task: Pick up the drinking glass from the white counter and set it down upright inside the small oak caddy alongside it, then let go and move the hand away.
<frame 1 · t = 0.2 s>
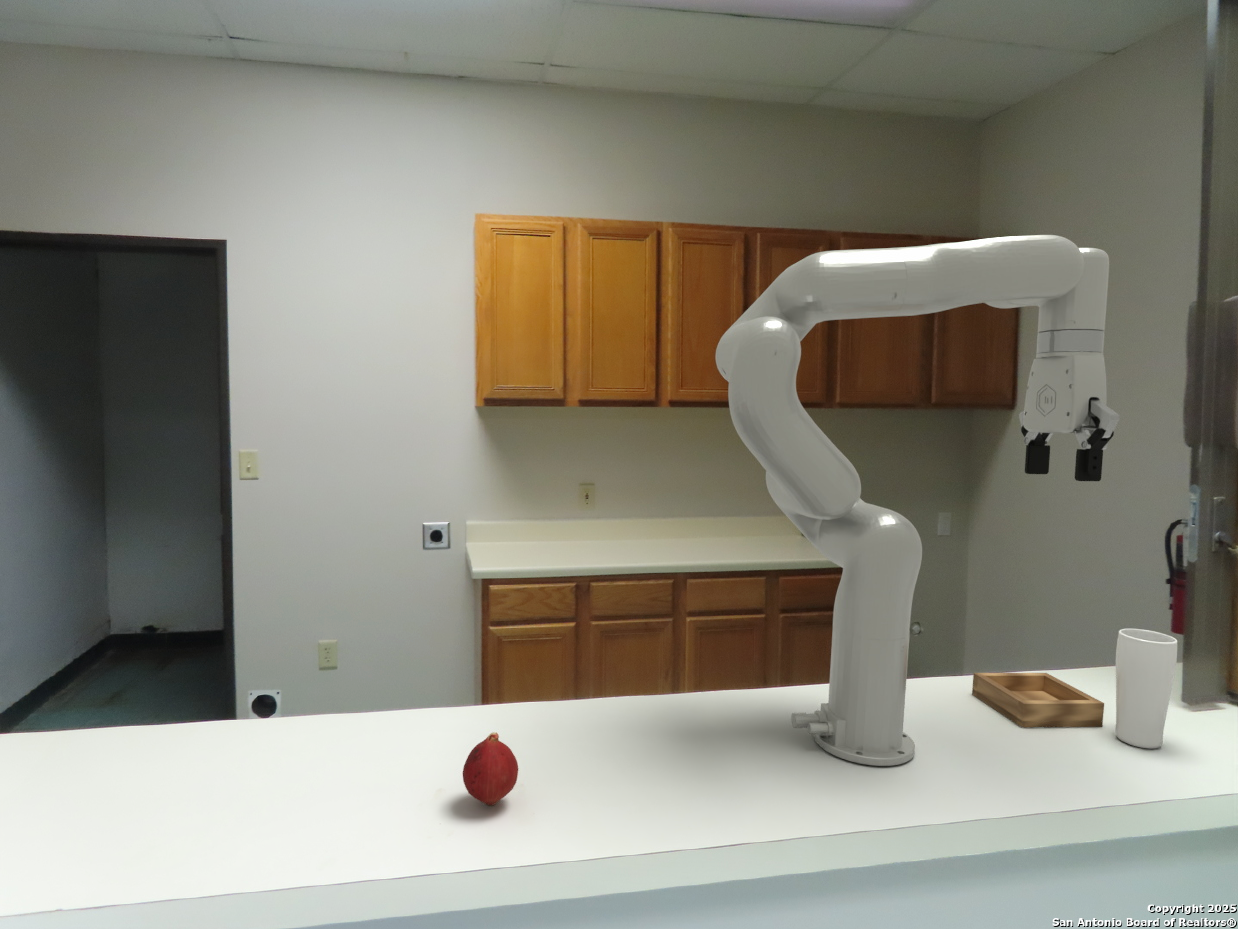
hand: (1060, 477, 99), 36 cm above the counter, tool pointing down, fingers open, 9 cm apart
onion: (489, 806, 81), on the counter
oak caddy: (1034, 710, 114), on the counter
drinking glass: (1137, 743, 103), on the counter
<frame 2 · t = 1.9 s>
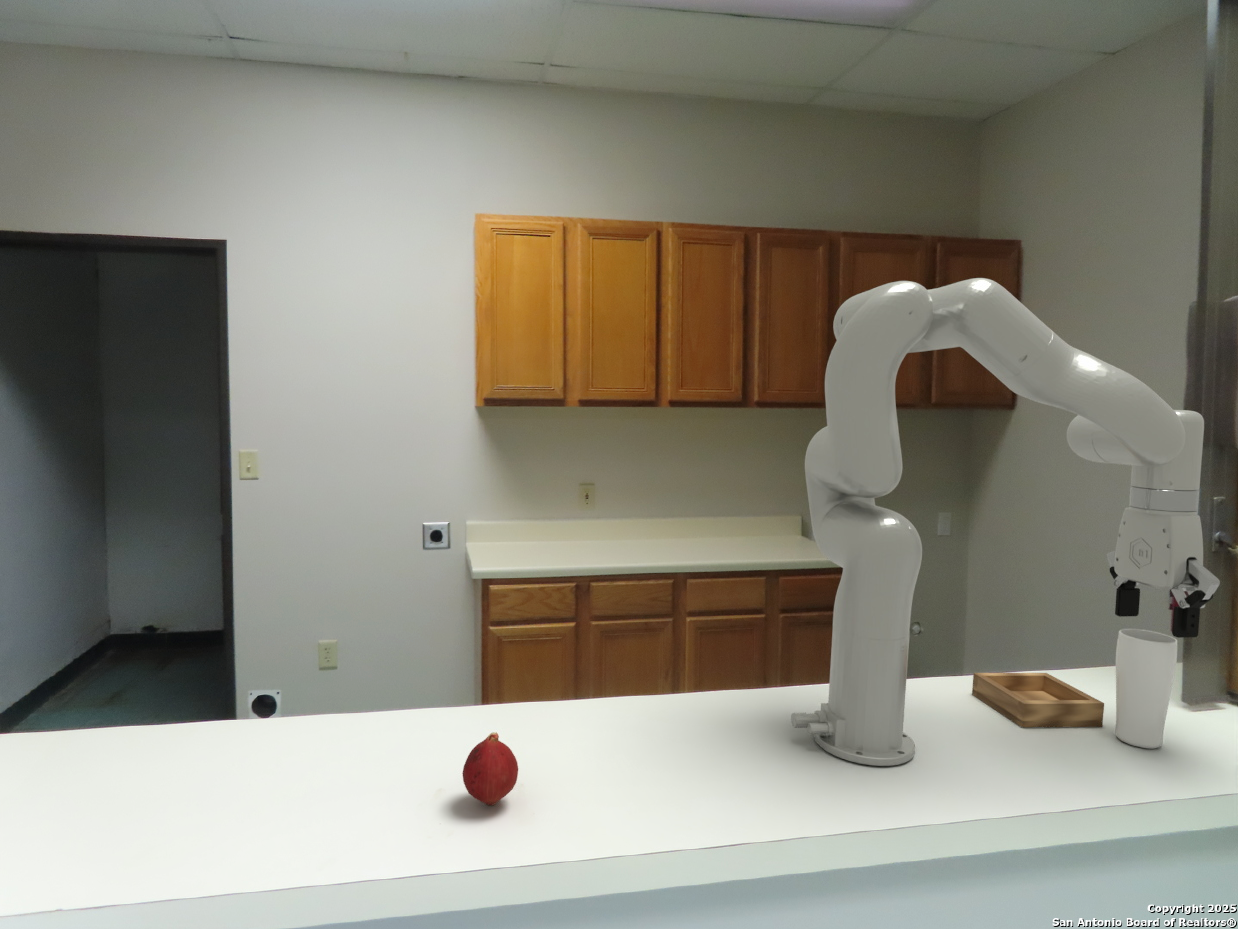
hand: (1154, 625, 102), 16 cm above the counter, tool pointing down, fingers open, 9 cm apart
nothing on the counter moved.
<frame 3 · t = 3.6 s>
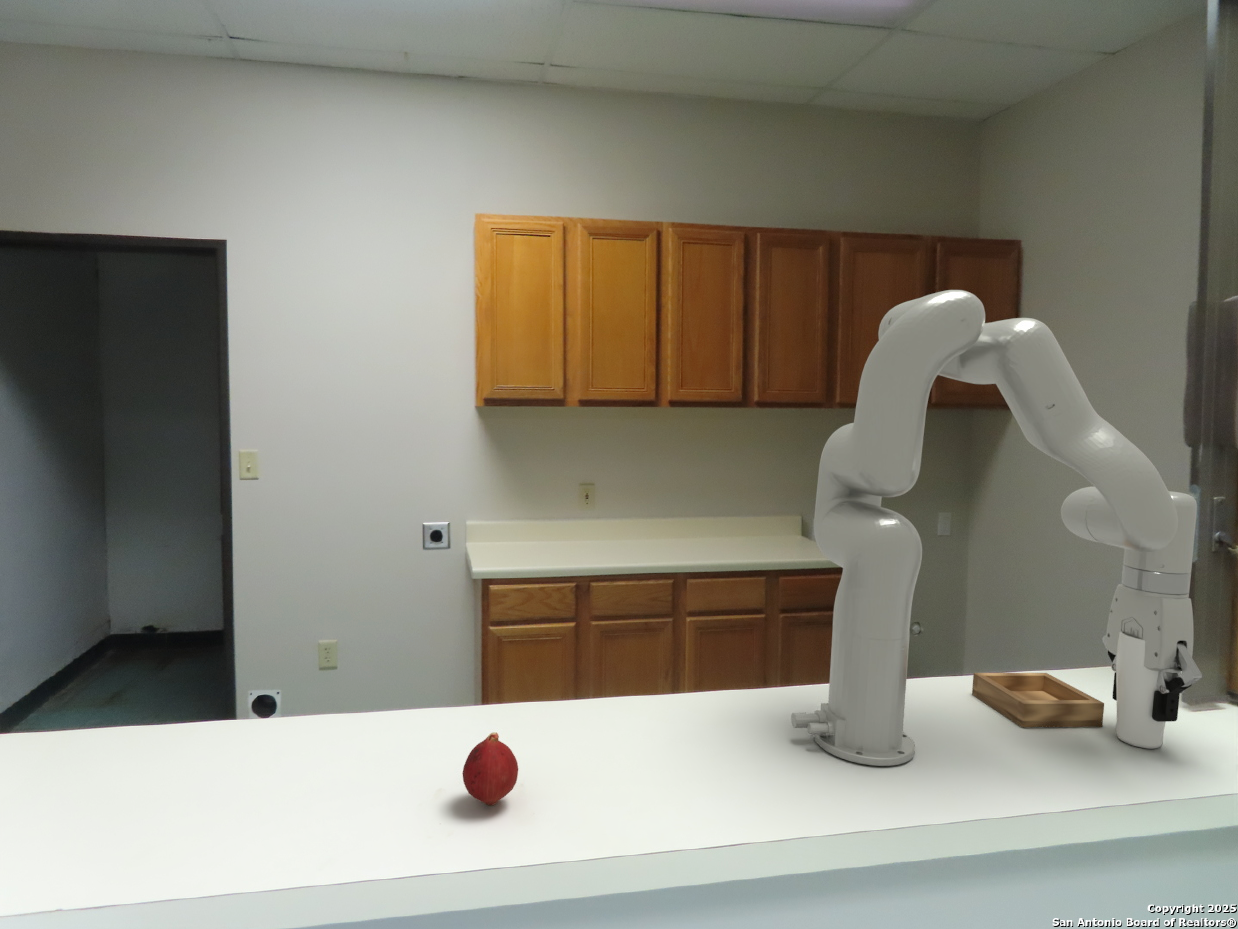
hand: (1143, 709, 103), 5 cm above the counter, tool pointing down, fingers closed on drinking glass, 6 cm apart
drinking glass: (1138, 743, 103), on the counter, touching gripper
everything else where it was.
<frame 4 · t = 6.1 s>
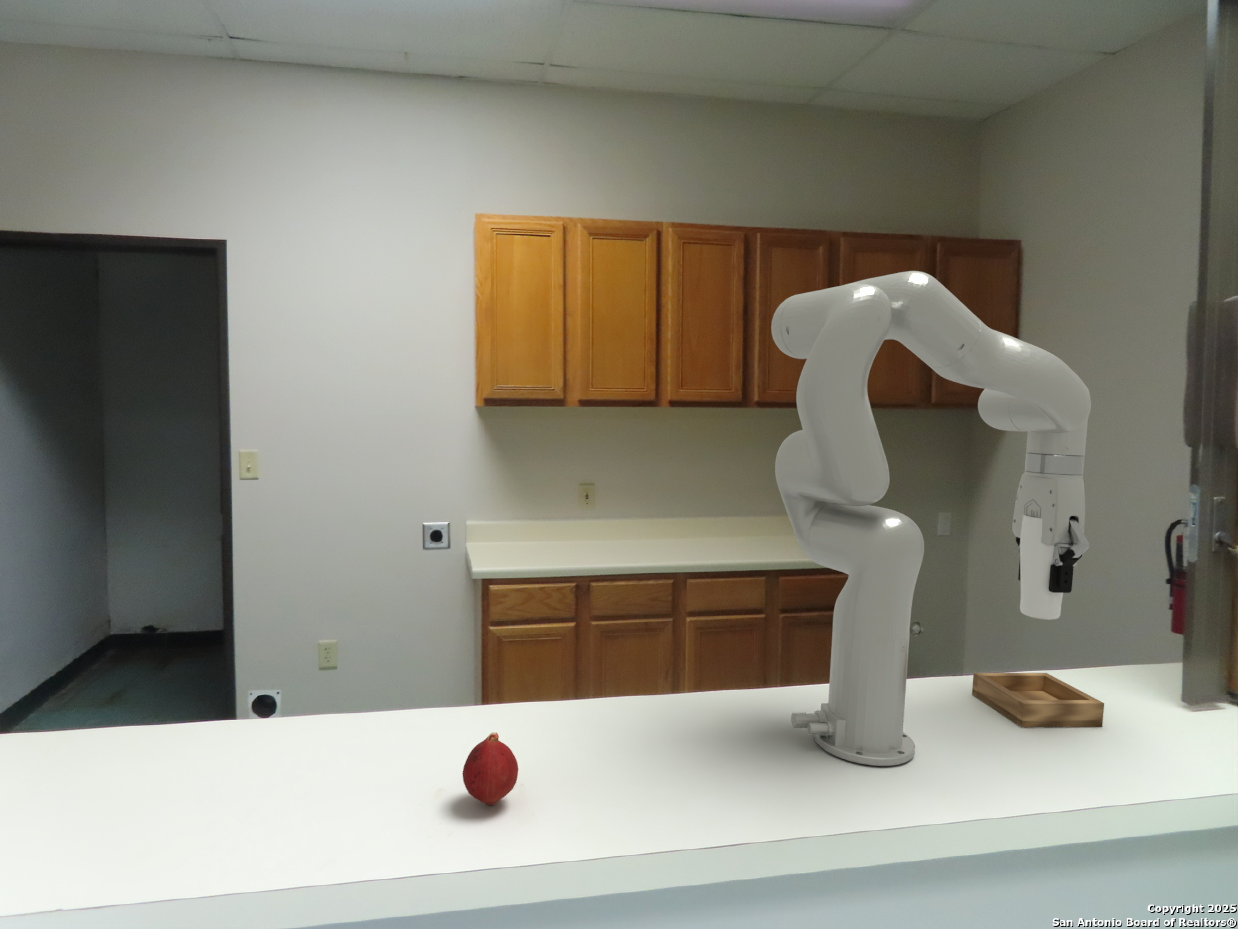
hand: (1043, 585, 112), 19 cm above the counter, tool pointing down, fingers closed on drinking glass, 6 cm apart
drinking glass: (1039, 617, 112), point 14 cm above the counter, touching gripper
everything else where it was.
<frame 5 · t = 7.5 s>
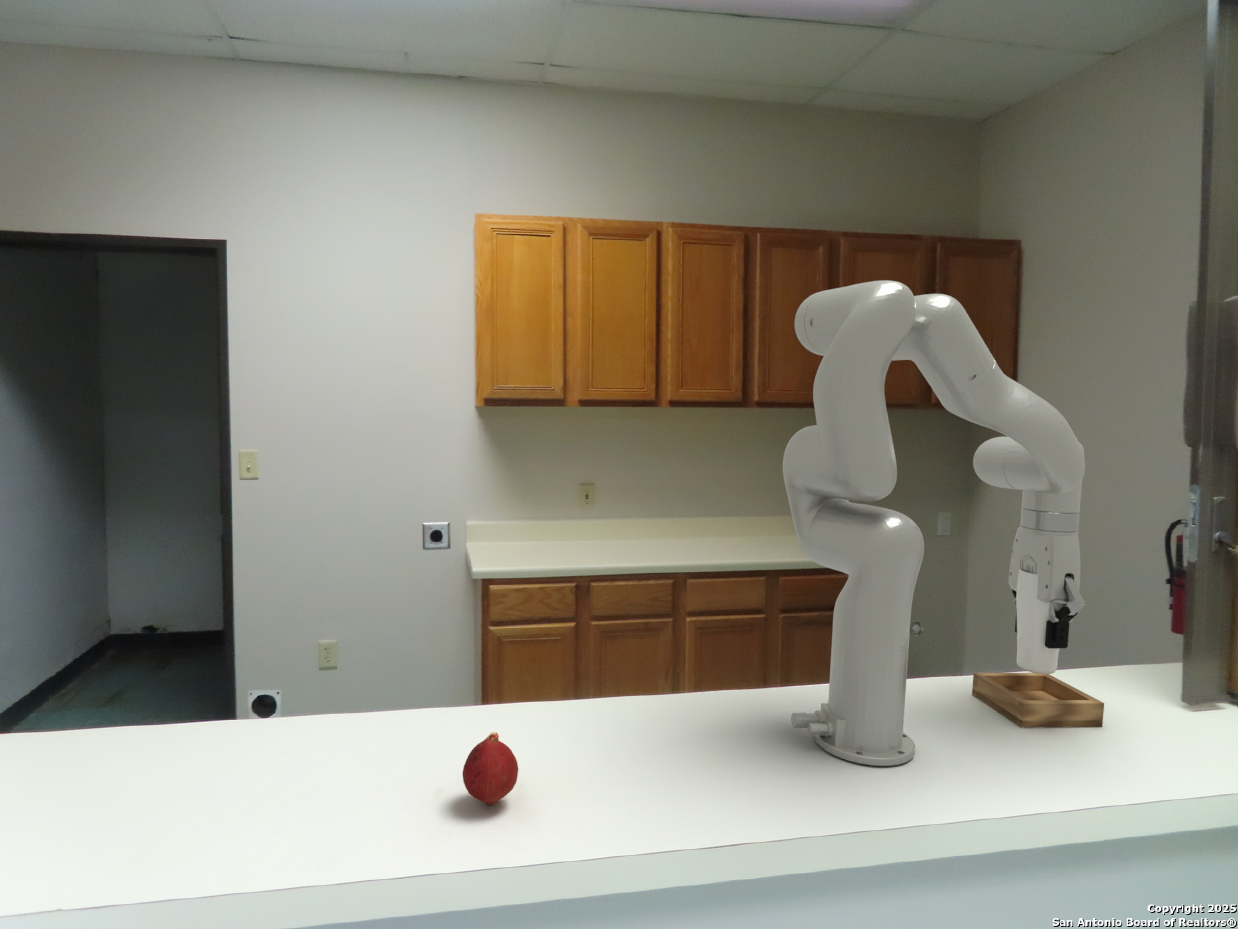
hand: (1040, 639, 113), 11 cm above the counter, tool pointing down, fingers closed on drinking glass, 6 cm apart
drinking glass: (1036, 670, 113), point 6 cm above the counter, touching gripper
everything else where it was.
when the fingers open (7 cm above the counter, at t = 8.8 s): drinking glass drops 1 cm, resting on oak caddy.
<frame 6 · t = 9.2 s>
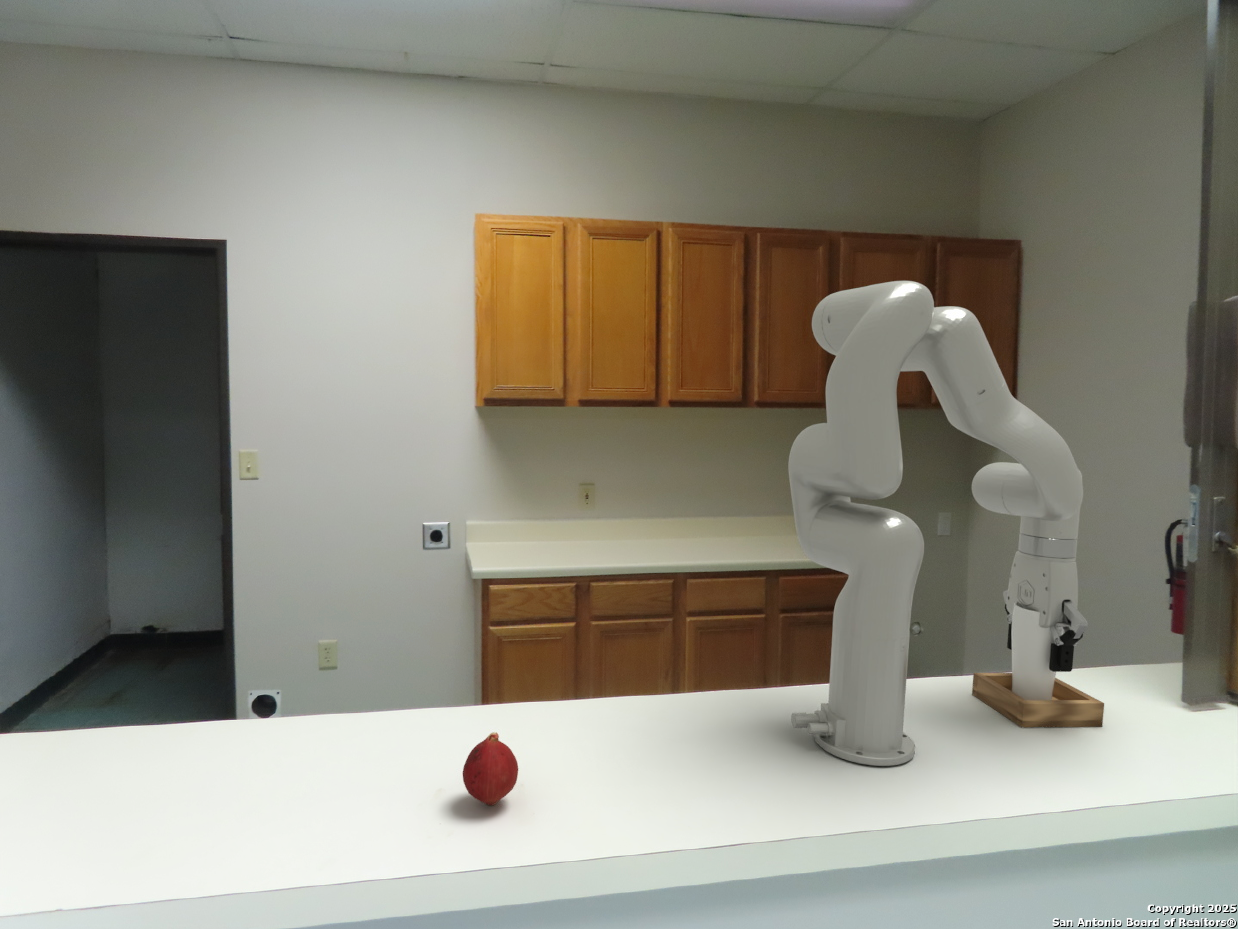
hand: (1038, 659, 113), 8 cm above the counter, tool pointing down, fingers open, 9 cm apart
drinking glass: (1030, 704, 113), point 1 cm above the counter, touching oak caddy
everything else where it was.
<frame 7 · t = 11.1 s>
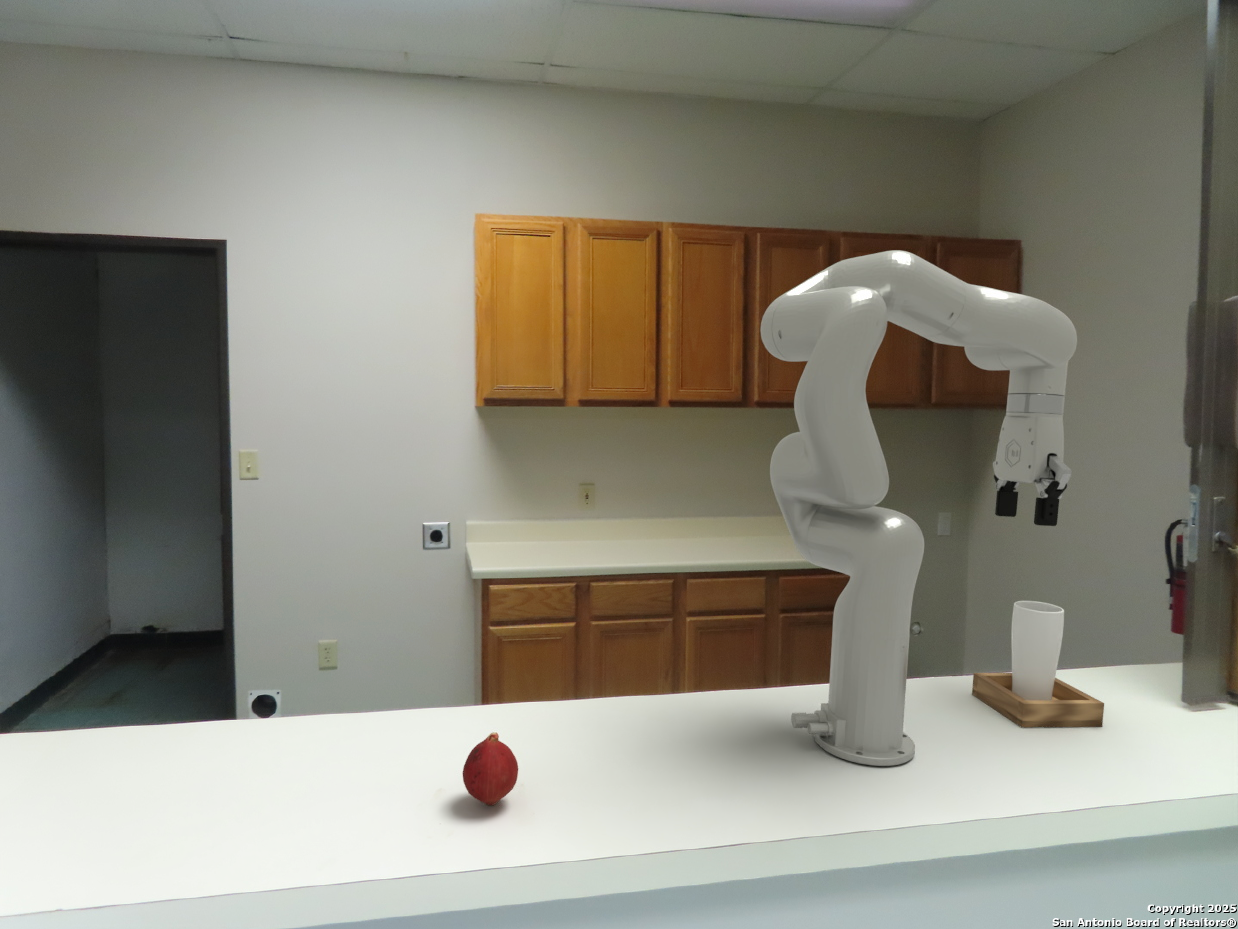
hand: (1024, 520, 114), 29 cm above the counter, tool pointing down, fingers open, 9 cm apart
nothing on the counter moved.
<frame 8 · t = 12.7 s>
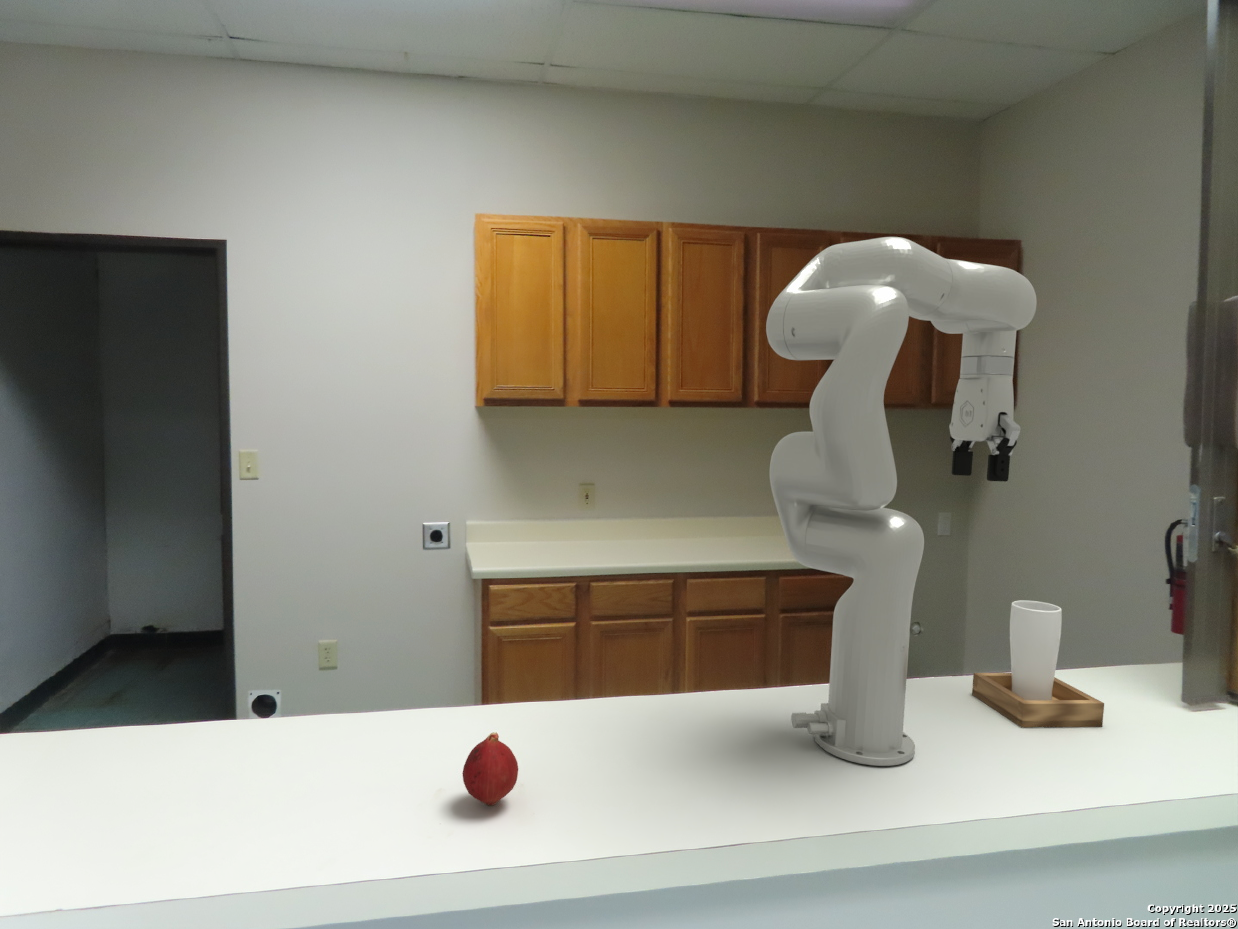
hand: (978, 478, 119), 34 cm above the counter, tool pointing down, fingers open, 9 cm apart
nothing on the counter moved.
at the end: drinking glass inside the target area on the oak caddy (0.6 cm from its centre), point 0.9 cm above the oak caddy's base; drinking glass tilted 1°; the gripper is holding nothing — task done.
